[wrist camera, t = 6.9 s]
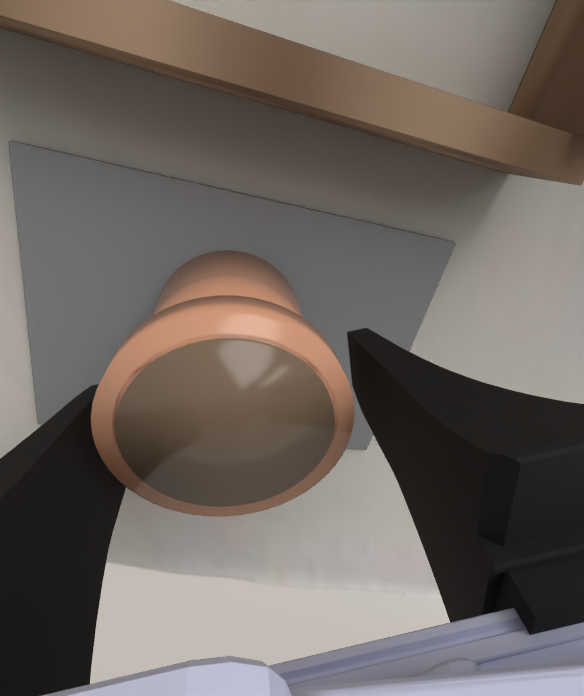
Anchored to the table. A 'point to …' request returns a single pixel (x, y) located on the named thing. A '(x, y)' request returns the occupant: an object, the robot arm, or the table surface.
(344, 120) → the frame
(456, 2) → the table surface
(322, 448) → the terracotta pot
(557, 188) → the table surface
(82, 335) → the slate mat
